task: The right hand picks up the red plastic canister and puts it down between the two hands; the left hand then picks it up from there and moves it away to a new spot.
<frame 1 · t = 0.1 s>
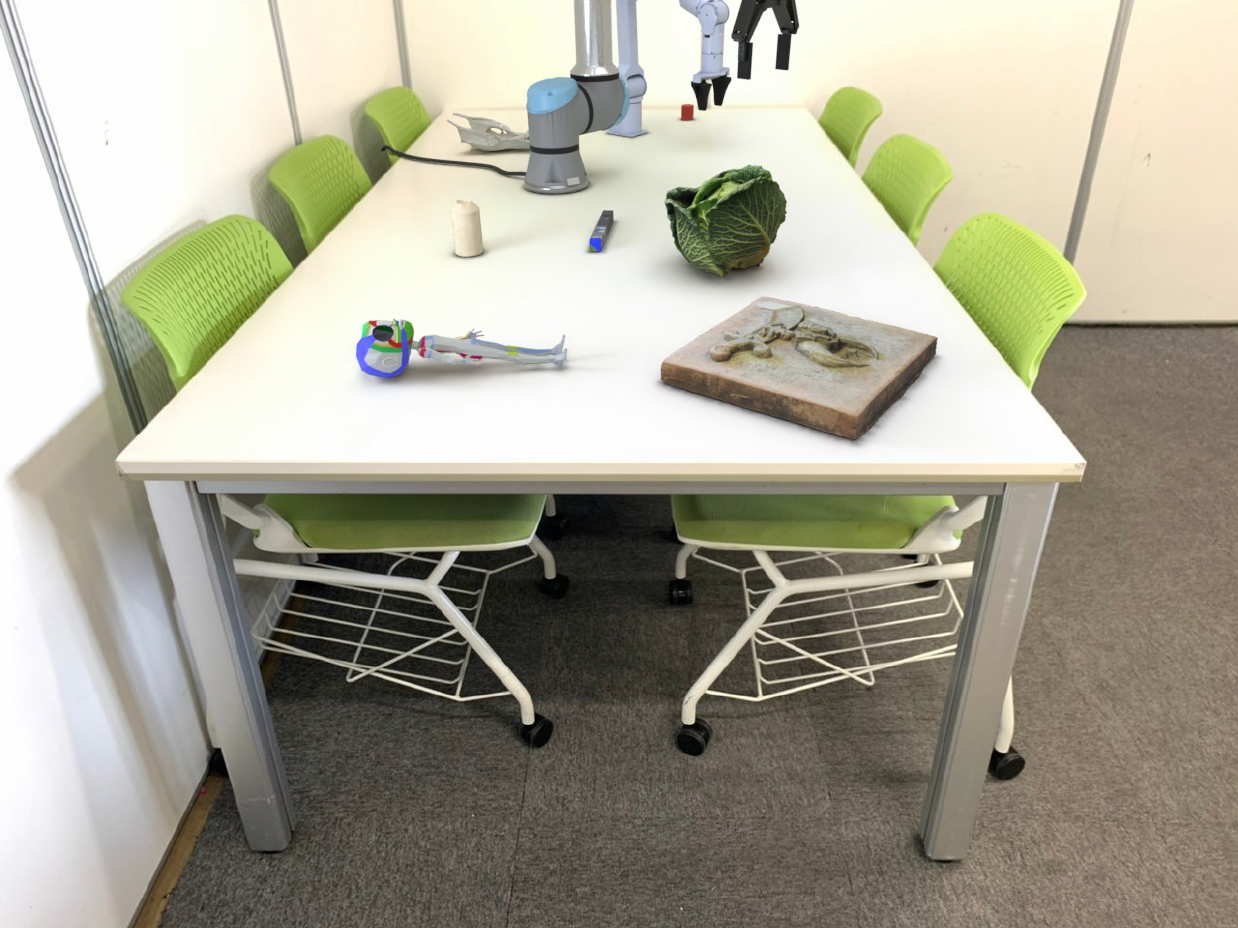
left hand: (763, 74, 179), 28 cm above the table, tool pointing down, fingers open, 13 cm apart
right hand: (710, 108, 242), 10 cm above the table, tool pointing down, fingers open, 7 cm apart
plaque: (801, 370, 130), on the table
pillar: (602, 236, 183), on the table
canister: (687, 119, 278), on the table
vegetable: (723, 269, 166), on the table
anatomical model: (496, 149, 247), on the table
candle: (469, 253, 175), on the table
toy: (464, 369, 132), on the table
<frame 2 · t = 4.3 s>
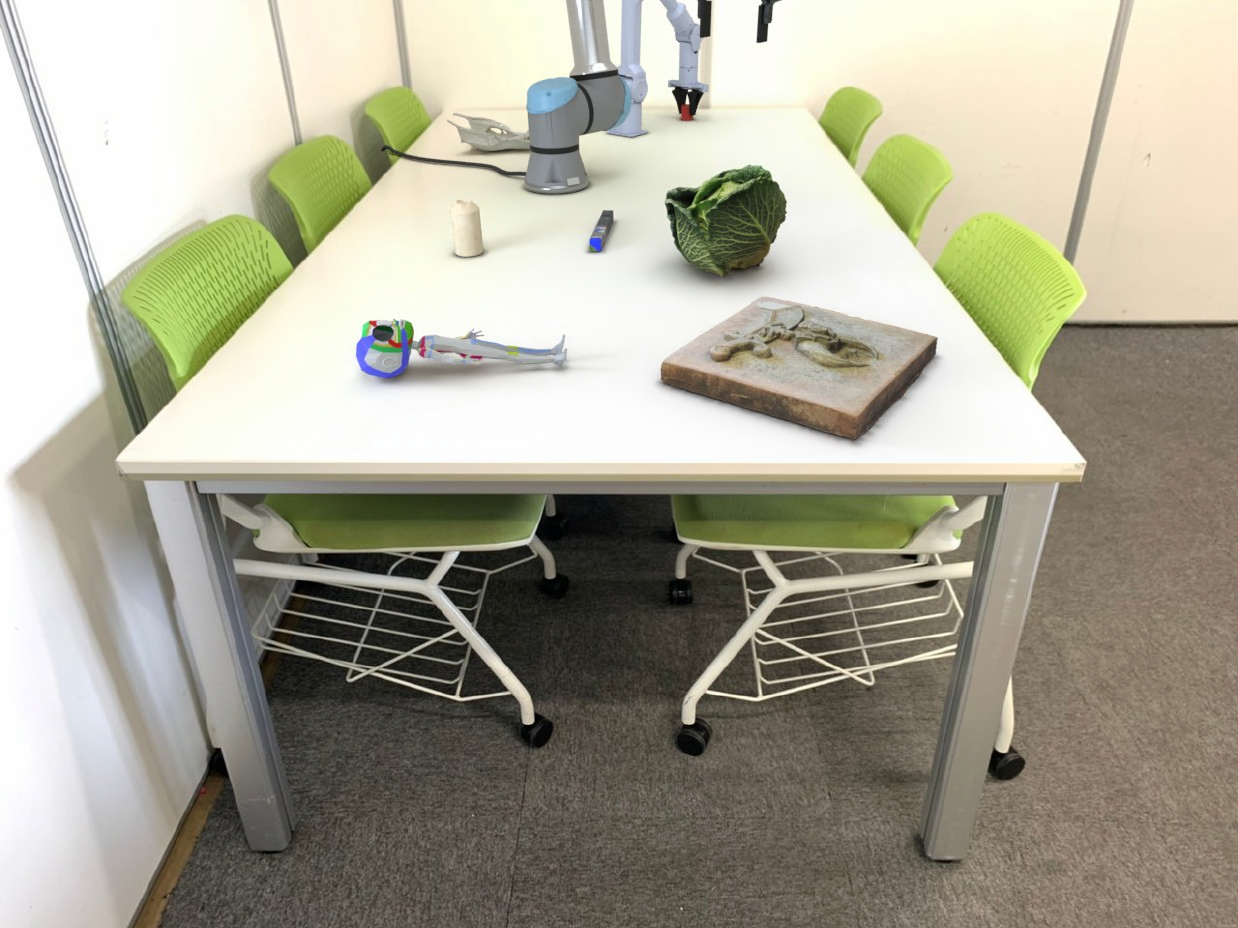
left hand: (732, 40, 178), 34 cm above the table, tool pointing down, fingers open, 13 cm apart
right hand: (687, 114, 277), 1 cm above the table, tool pointing down, fingers closed on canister, 4 cm apart
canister: (687, 119, 278), on the table, touching right hand
everything else where it was.
when the right hand's fingers open (3 cm above the table, at t = 11.6 s): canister drops 1 cm, on the table.
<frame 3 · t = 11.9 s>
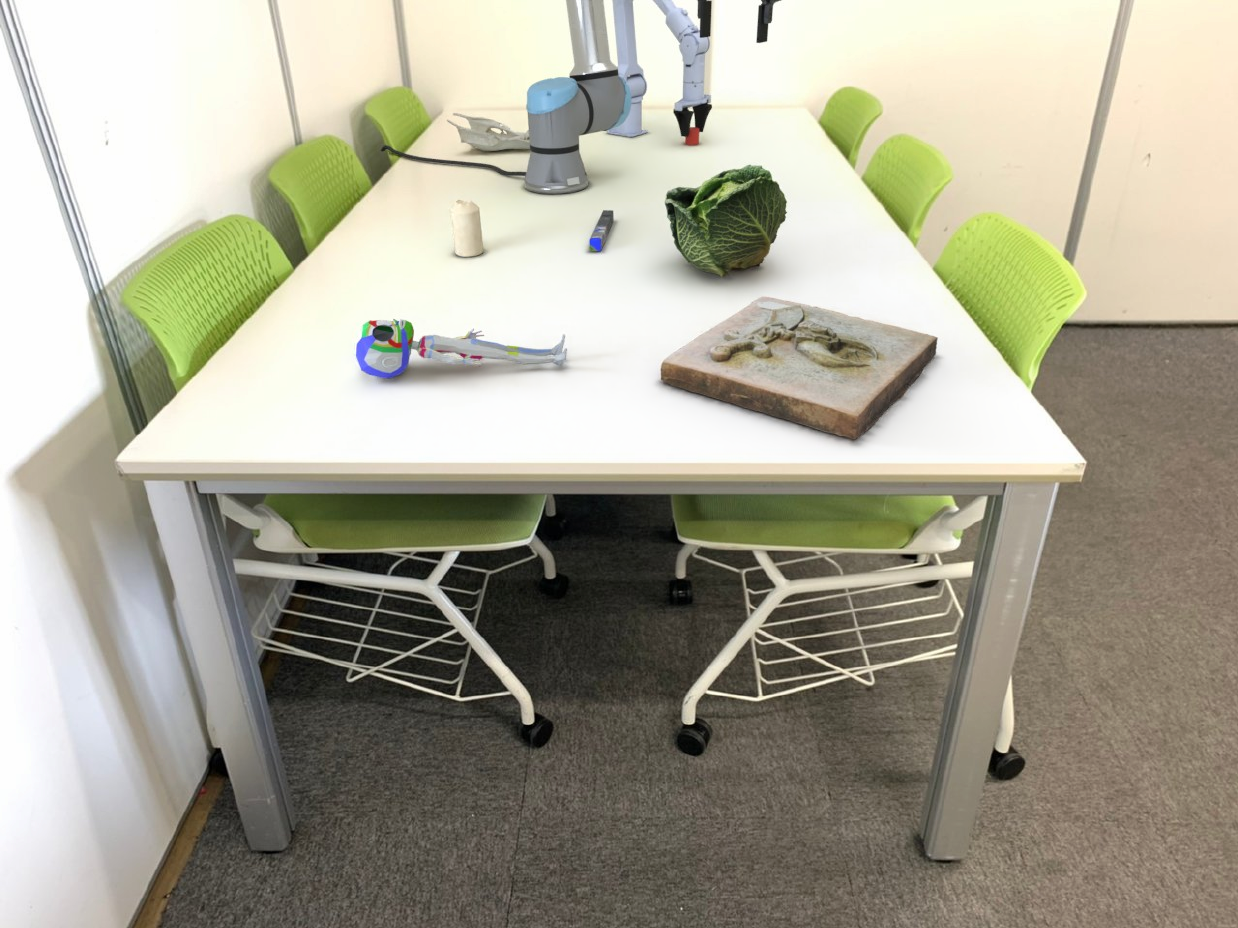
left hand: (732, 40, 178), 34 cm above the table, tool pointing down, fingers open, 13 cm apart
right hand: (692, 134, 249), 3 cm above the table, tool pointing down, fingers open, 6 cm apart
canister: (692, 144, 250), on the table
everything else where it was.
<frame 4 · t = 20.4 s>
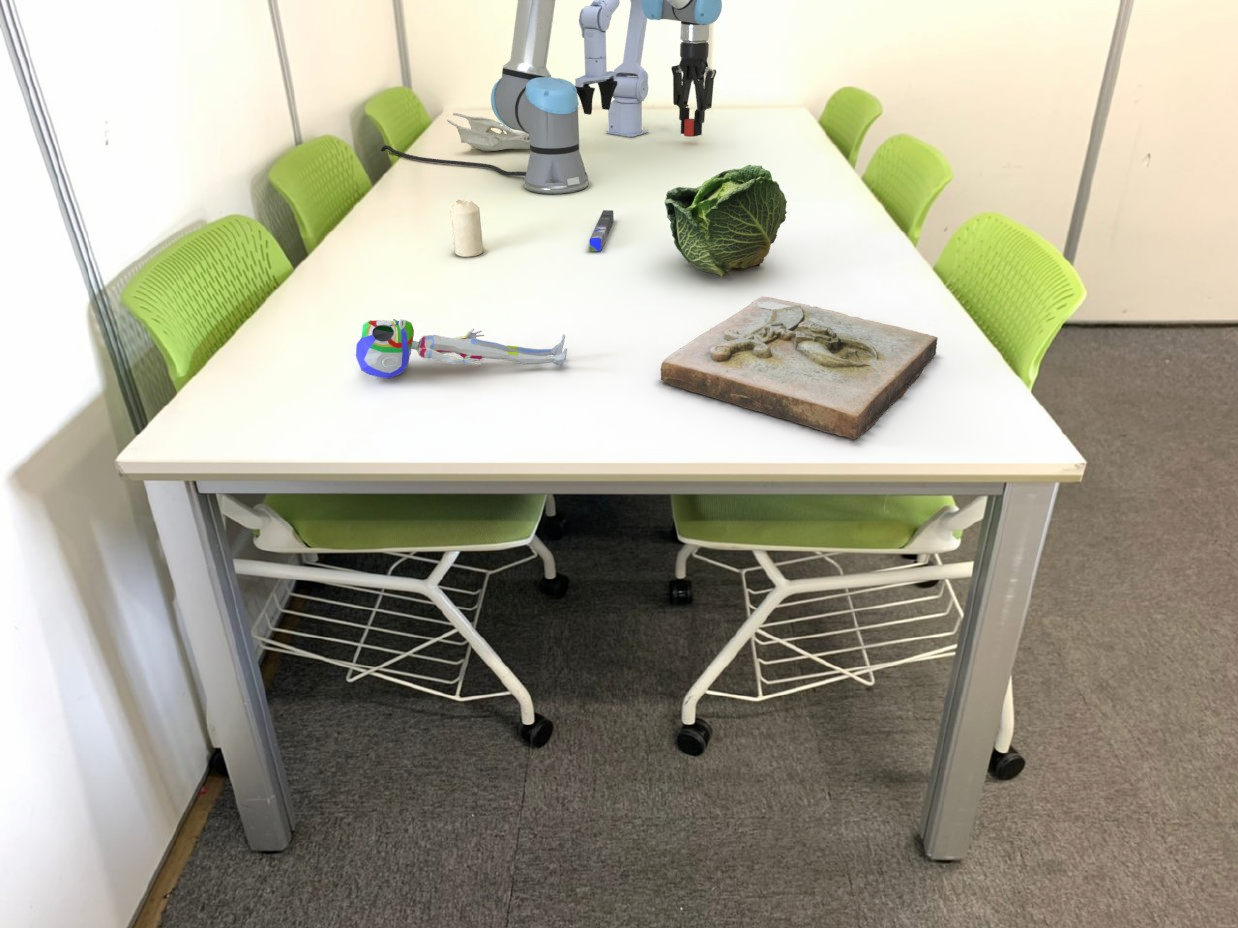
left hand: (691, 134, 248), 3 cm above the table, tool pointing down, fingers closed on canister, 4 cm apart
right hand: (596, 111, 243), 9 cm above the table, tool pointing down, fingers open, 7 cm apart
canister: (690, 135, 248), point 2 cm above the table, touching left hand
everything else where it was.
when the left hand's fingers open (0 cm above the table, at t = 30.2 s): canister stays where it is, on the table.
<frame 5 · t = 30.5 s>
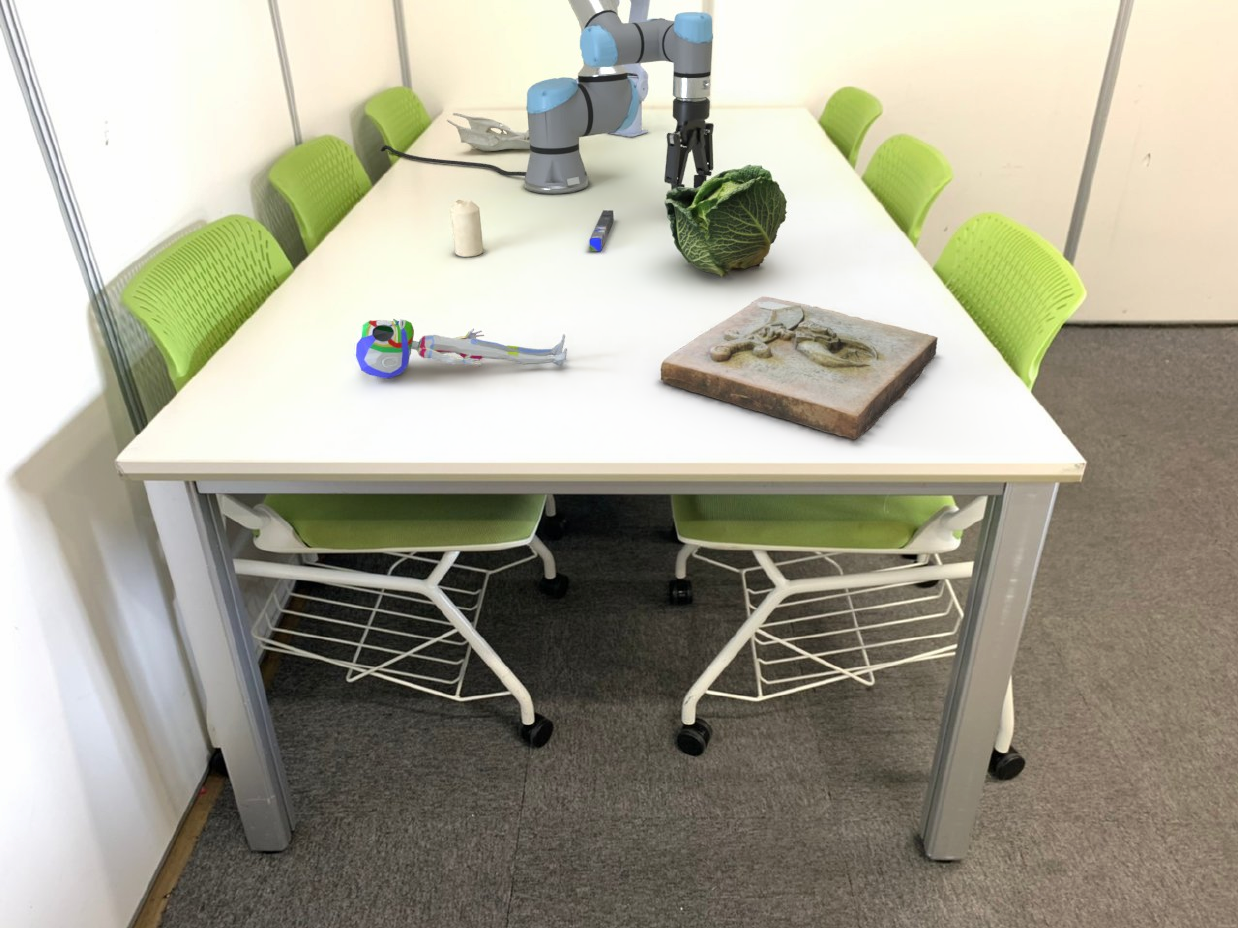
left hand: (688, 210, 194), 1 cm above the table, tool pointing down, fingers open, 7 cm apart
right hand: (596, 111, 243), 9 cm above the table, tool pointing down, fingers open, 7 cm apart
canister: (687, 214, 195), on the table
everything else where it was.
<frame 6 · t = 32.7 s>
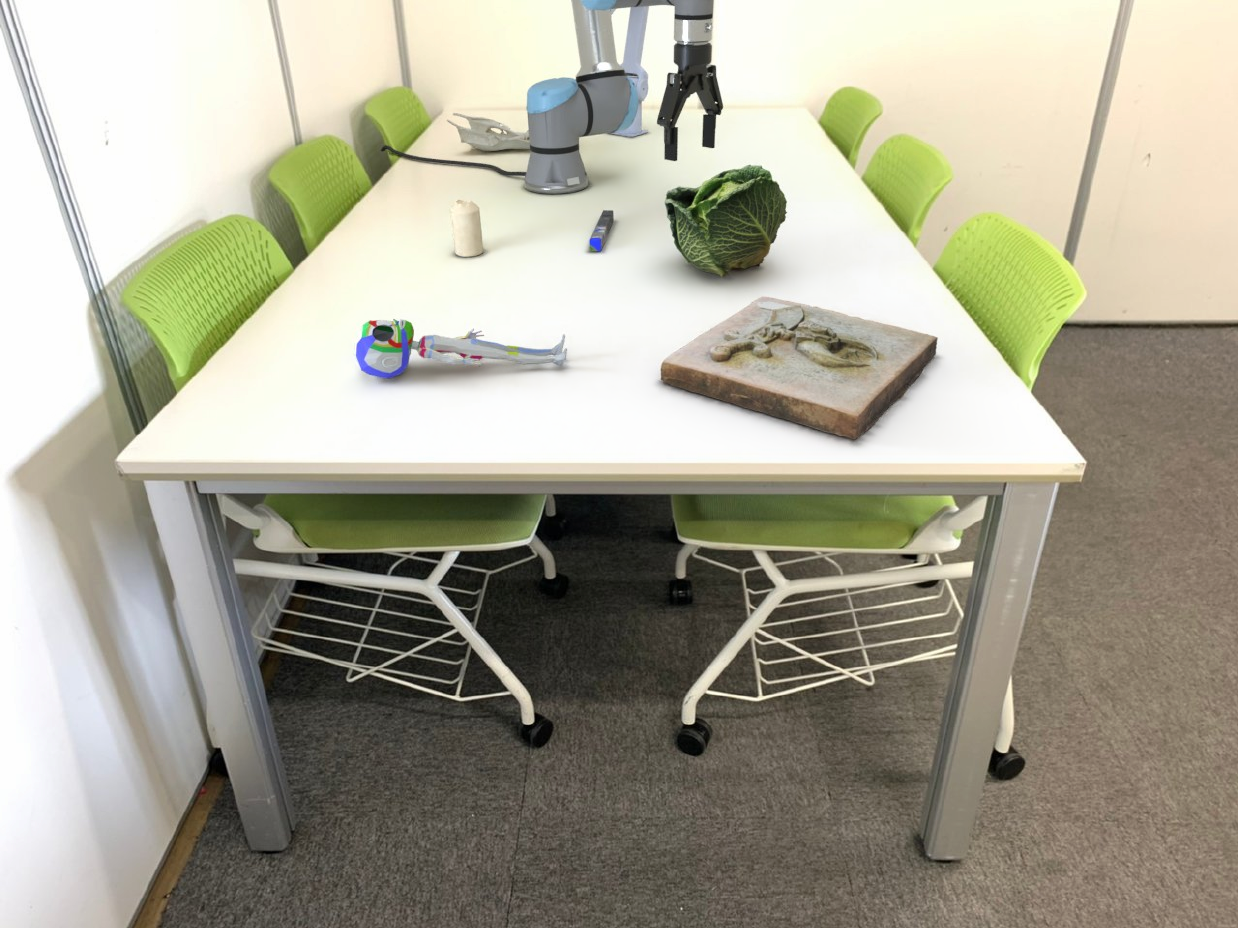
left hand: (690, 153, 188), 13 cm above the table, tool pointing down, fingers open, 13 cm apart
right hand: (596, 111, 243), 9 cm above the table, tool pointing down, fingers open, 7 cm apart
nothing on the table moved.
at the end: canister inside the target area (0.1 cm from its centre), on the table; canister tilted 0°; the two hands never held the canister at the same time; the left hand is holding nothing; the right hand is holding nothing; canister at rest at the end (0.0 cm/s) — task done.
